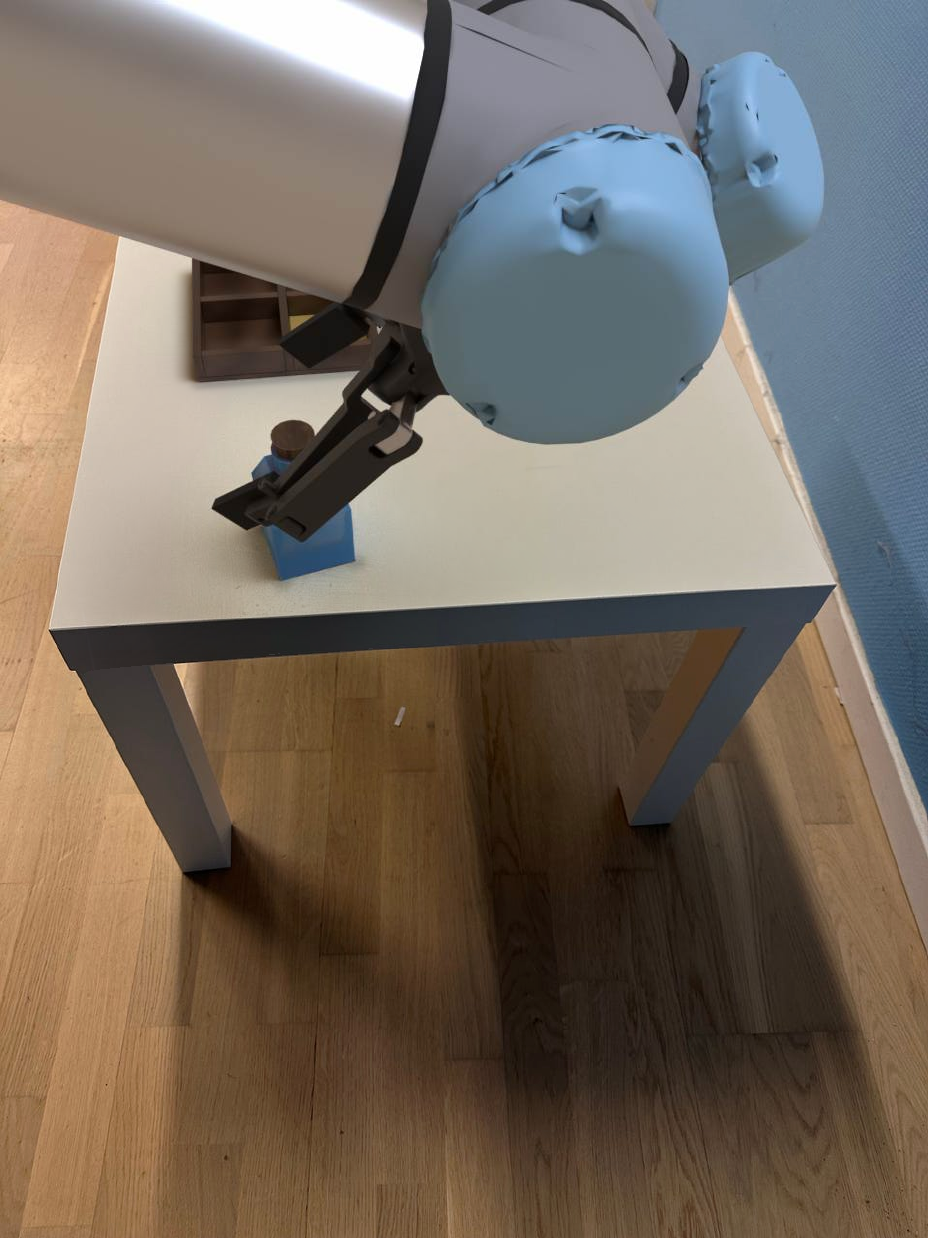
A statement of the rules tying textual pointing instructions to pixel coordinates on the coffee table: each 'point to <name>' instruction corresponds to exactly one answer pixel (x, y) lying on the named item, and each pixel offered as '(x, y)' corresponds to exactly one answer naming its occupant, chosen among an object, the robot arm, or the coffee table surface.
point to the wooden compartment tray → (256, 327)
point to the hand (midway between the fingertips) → (264, 430)
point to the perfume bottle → (327, 542)
